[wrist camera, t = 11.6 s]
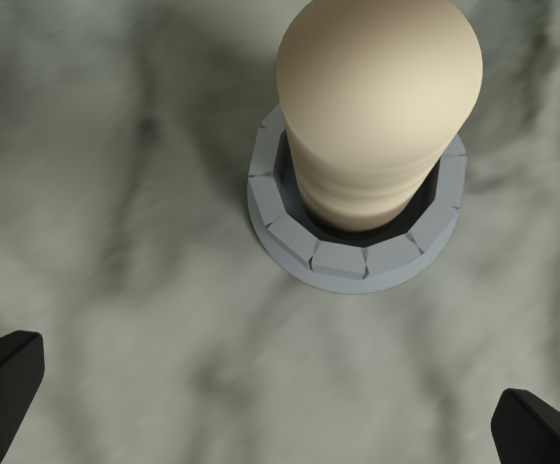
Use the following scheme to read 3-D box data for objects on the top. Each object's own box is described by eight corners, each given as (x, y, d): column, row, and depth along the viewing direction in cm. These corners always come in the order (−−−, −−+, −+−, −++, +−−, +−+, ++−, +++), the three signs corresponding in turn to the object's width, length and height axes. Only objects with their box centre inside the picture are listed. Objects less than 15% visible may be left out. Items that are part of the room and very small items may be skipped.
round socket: (501, 176, 21) (535, 147, 18) (366, 340, 21) (374, 343, 17) (336, 59, 23) (338, 13, 20) (207, 204, 23) (186, 182, 19)
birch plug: (427, 207, 21) (525, 99, 11) (332, 259, 21) (337, 201, 11) (372, 120, 22) (411, -56, 12) (281, 169, 22) (241, 37, 12)
